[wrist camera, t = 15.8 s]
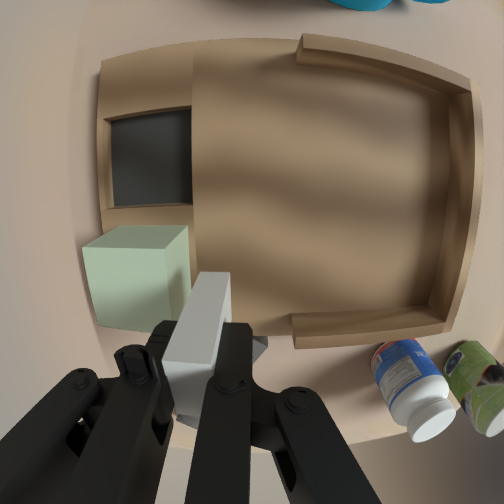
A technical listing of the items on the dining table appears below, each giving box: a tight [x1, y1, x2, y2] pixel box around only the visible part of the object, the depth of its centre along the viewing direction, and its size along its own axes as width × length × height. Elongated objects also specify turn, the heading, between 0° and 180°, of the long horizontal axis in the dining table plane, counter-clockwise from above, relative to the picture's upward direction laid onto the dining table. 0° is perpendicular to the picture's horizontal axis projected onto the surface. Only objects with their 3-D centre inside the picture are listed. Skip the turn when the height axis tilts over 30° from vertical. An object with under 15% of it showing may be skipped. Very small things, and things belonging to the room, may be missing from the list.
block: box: [82, 225, 191, 333], centre depth 16 cm, size 5×5×5 cm
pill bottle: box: [371, 338, 456, 442], centre depth 18 cm, size 6×5×10 cm
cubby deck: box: [97, 33, 484, 349], centre depth 16 cm, size 21×26×4 cm
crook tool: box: [176, 336, 268, 430], centre depth 23 cm, size 5×14×2 cm, turn 147°
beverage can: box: [442, 341, 504, 437], centre depth 18 cm, size 6×7×12 cm
